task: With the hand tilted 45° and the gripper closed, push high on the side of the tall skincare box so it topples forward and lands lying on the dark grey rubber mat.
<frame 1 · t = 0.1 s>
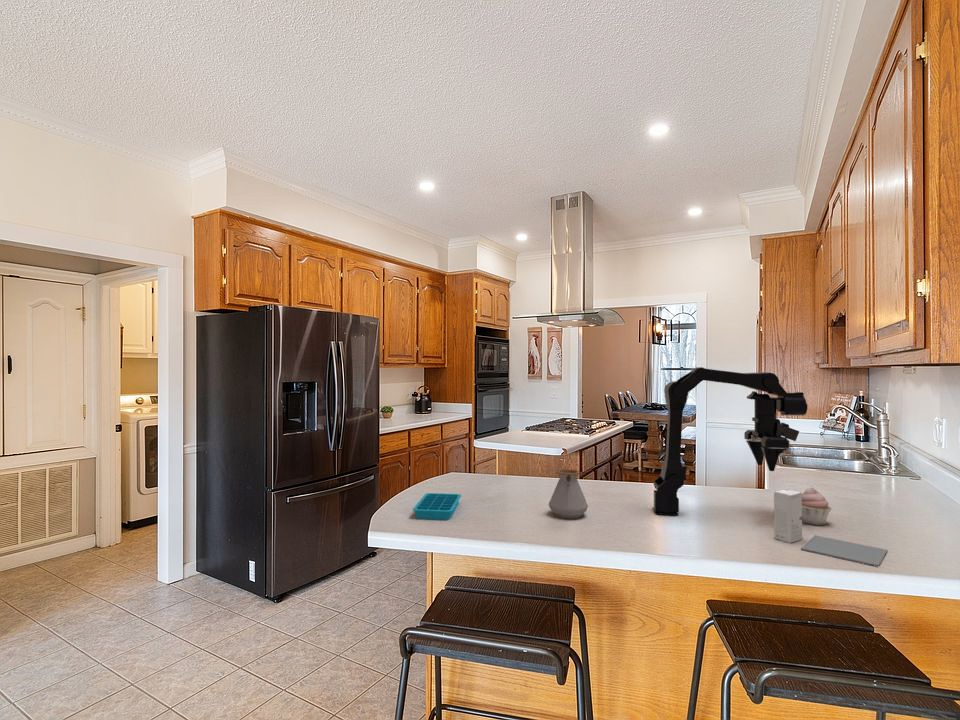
hand: (765, 468, 152), 15 cm above the table, tool pointing down, fingers open, 9 cm apart
skincare box: (788, 539, 133), on the table
coffee pot: (568, 520, 148), on the table
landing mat: (844, 550, 125), on the table
cupcake: (812, 523, 148), on the table
ice cube tray: (438, 512, 157), on the table
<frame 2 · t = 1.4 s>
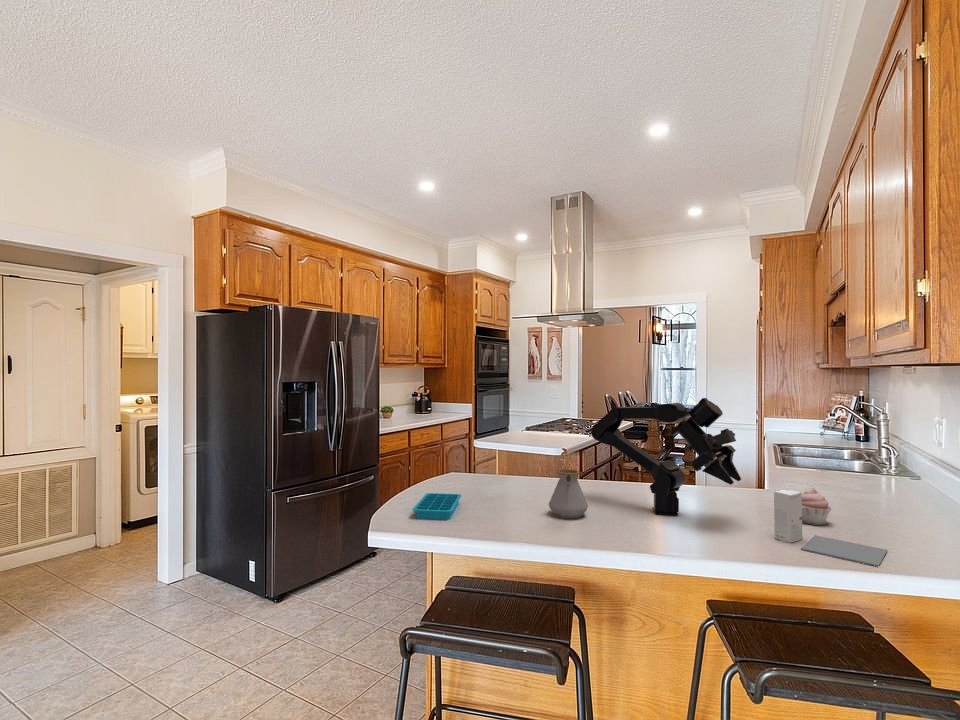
hand: (736, 482, 142), 13 cm above the table, tool tilted 45°, fingers open, 6 cm apart
nothing on the table moved.
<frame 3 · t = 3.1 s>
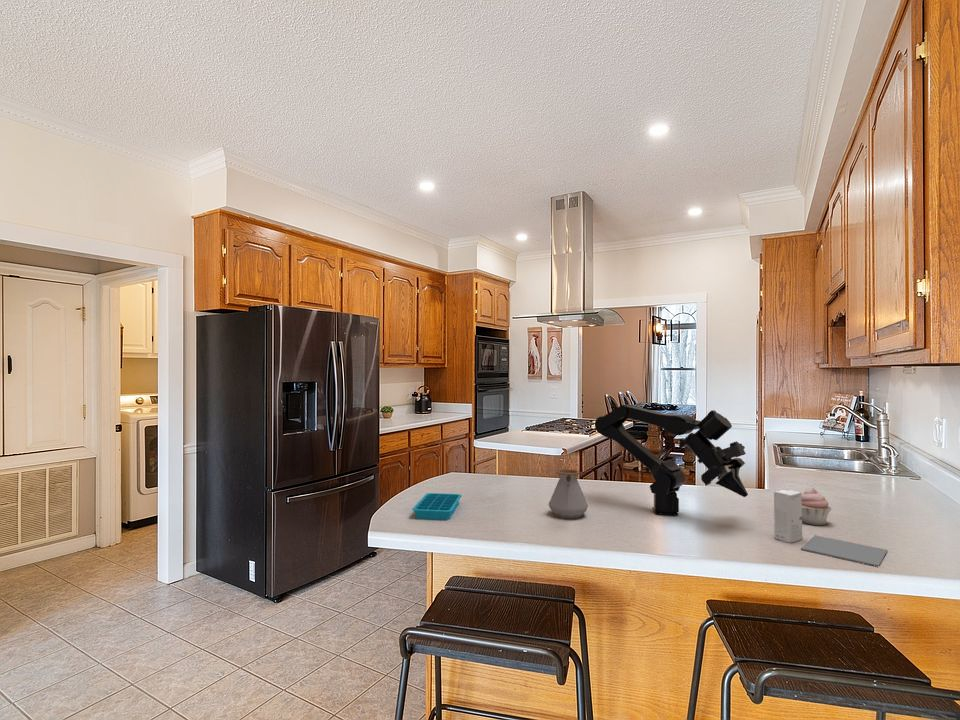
hand: (746, 496, 140), 9 cm above the table, tool tilted 45°, fingers closed
nothing on the table moved.
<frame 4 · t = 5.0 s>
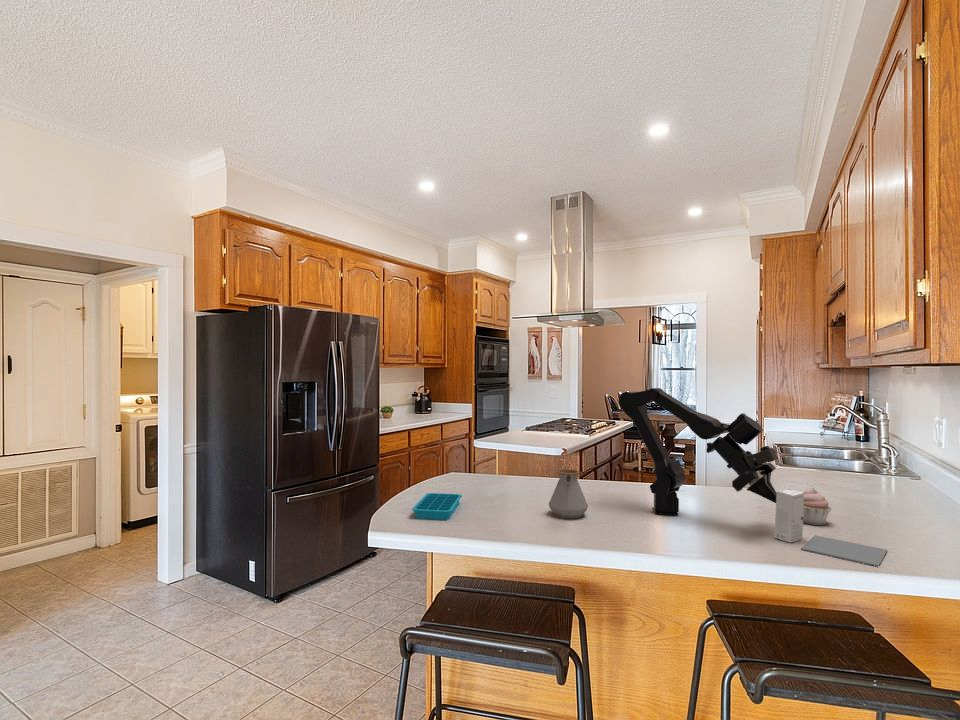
hand: (779, 502, 135), 9 cm above the table, tool tilted 45°, fingers closed
skincare box: (788, 539, 133), on the table, touching gripper
everything else where it was.
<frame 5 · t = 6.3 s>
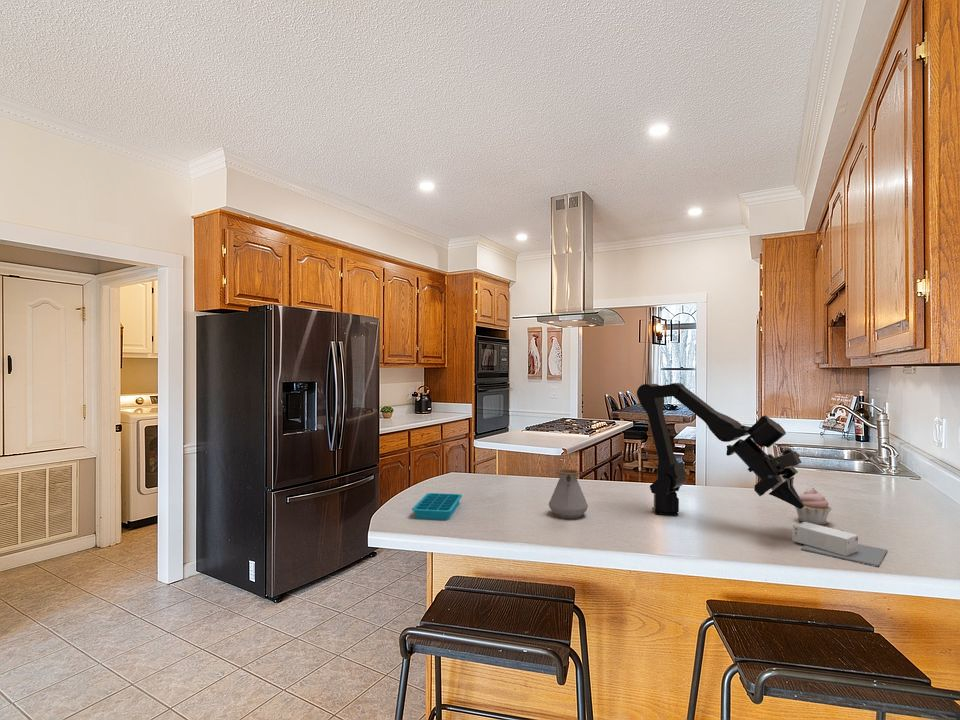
hand: (802, 507, 131), 9 cm above the table, tool tilted 45°, fingers closed
skincare box: (797, 530, 132), point 3 cm above the table, touching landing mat
everything else where it was.
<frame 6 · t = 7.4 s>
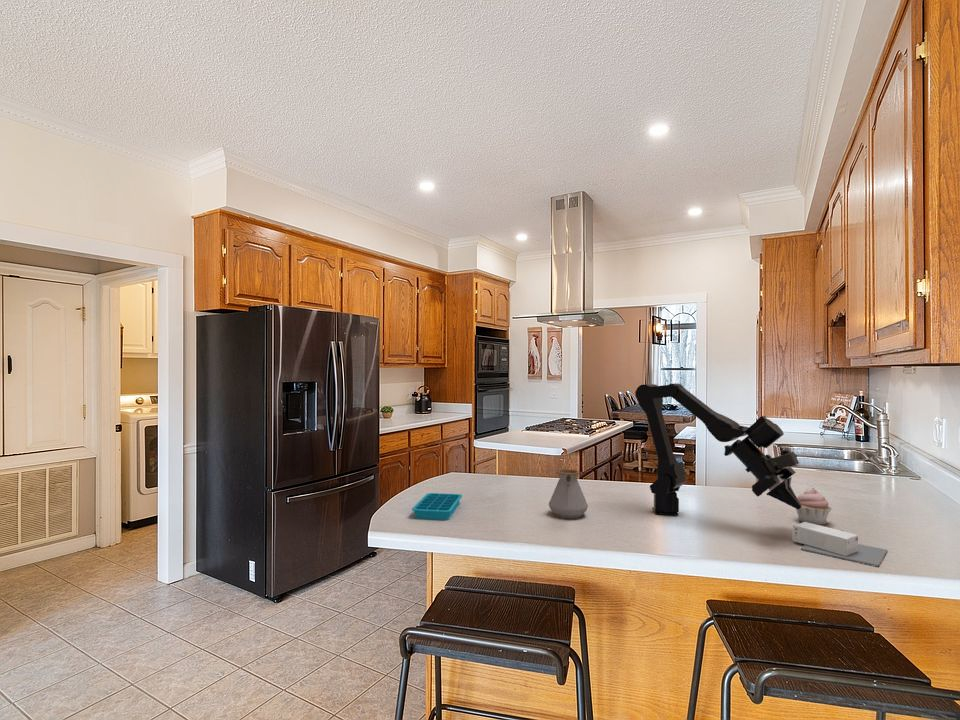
hand: (800, 508, 131), 8 cm above the table, tool tilted 45°, fingers closed
nothing on the table moved.
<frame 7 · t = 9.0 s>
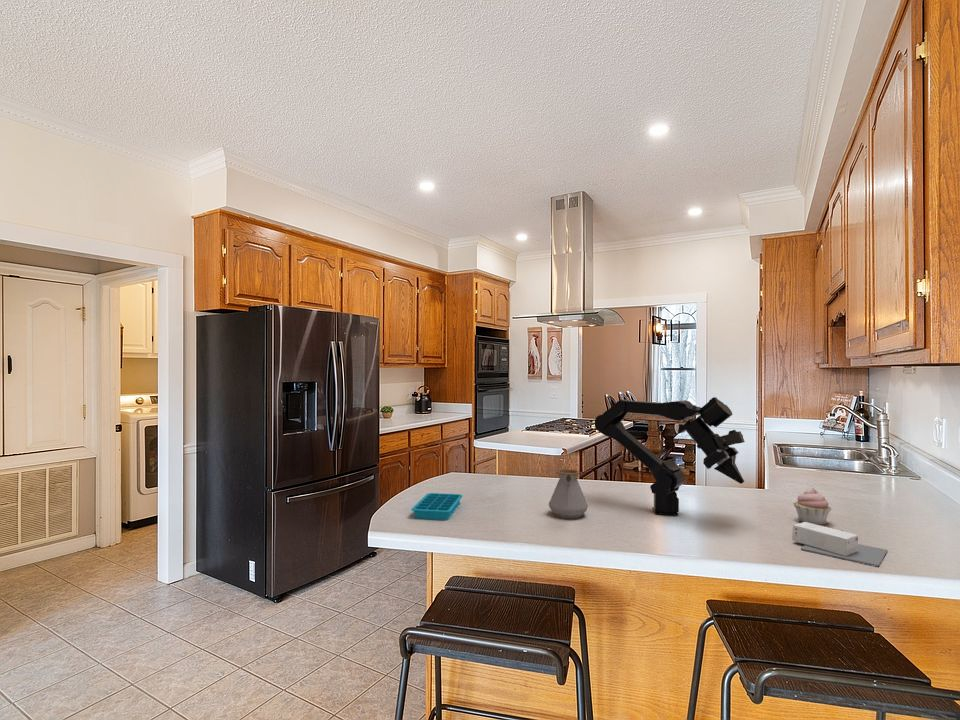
hand: (742, 482, 142), 12 cm above the table, tool tilted 40°, fingers closed
nothing on the table moved.
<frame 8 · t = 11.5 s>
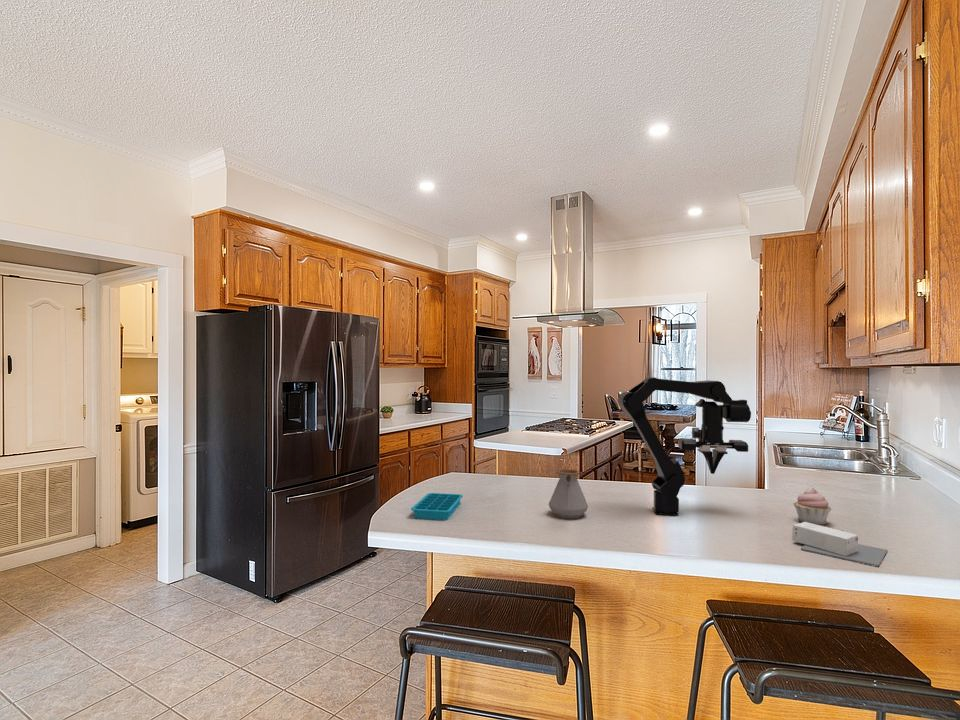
hand: (712, 473, 156), 12 cm above the table, tool pointing down, fingers closed
nothing on the table moved.
at the end: skincare box tilted 92°; skincare box touching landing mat; skincare box 9.8 cm from the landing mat (horizontally) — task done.
